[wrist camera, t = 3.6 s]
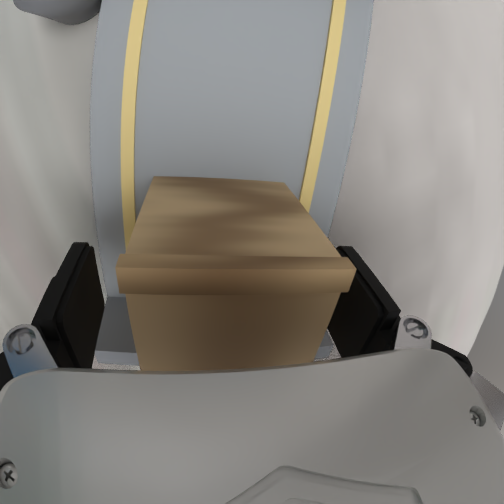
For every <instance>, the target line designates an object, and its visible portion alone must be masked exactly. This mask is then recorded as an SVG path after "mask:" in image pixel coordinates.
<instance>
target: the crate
mask: <svg viewBox="0 0 504 504" xmlns="http://www.w3.org/2000/svg"><path fill="white" fill-rule="evenodd" d="M115 269H116V276H117V282H118V288H119V294H125V296H126V302H127V308H128V313H129V319H130V324H131V329H132V334H133V339H134V343H135V348H136V352H137V357H138V361H139V365H140V369H141V371H199V370H225V369H243V368H257V367H269V366H280V365H290V364H299V363H308V362H313V360H314V358H315V356H316V353H317V351H318V349H319V346H320V344H321V342H322V339H323V337H324V334H325V332H326V330H327V327H328V325H329V322H330V320H331V317H332V314H333V312H334V309H335V307H336V304H337V301H338V299H339V296H340V293H341V292H348V291H349V289H350V286H351V283H352V281H353V278H354V275H355V273H356V270H357V269H356V268H355V266H354V265H353V264H352V262H351V261H350V260H349V258H348V257H341V255H340V254H339V253H338V251H337V250H336V249H335V247H334V246H333V245H332V243H331V242H330V241H329V239H328V238H327V237H326V235H325V234H324V233H323V231H322V230H321V229H320V227H319V226H318V225H317V223H316V222H315V221H314V220H313V218H312V217H311V216H310V214H309V213H308V212H307V211H306V209H305V208H304V207H303V205H302V204H301V203H300V202H299V200H298V199H297V198H296V197H295V195H294V194H293V193H292V192H291V190H290V189H289V188H288V187H287V185H286V184H285V183H284V182H272V181H258V180H243V179H226V178H204V177H170V176H154V177H153V179H152V182H151V184H150V187H149V189H148V192H147V194H146V197H145V199H144V202H143V205H142V207H141V210H140V213H139V215H138V218H137V221H136V223H135V226H134V229H133V232H132V235H131V238H130V241H129V244H128V246H127V249H126V253H125V254H120V255H119V258H118V261H117V264H116V267H115Z"/></svg>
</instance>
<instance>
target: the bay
mask: <svg viewBox="0 0 504 504" xmlns="http://www.w3.org/2000/svg"><path fill="white" fill-rule="evenodd" d="M13 1H14V4H15V5H16V7H17V8H18V9H20V10H22V11H25V12H29V13H32V14H36V15H39V16H43V17H46V18H49V19H52V20H55V21H58V22H61V23H64V24H68V25H74V24H79V23H82V22H85V21H87V20H89V19H91V18H92V17H94V16H95V15H96V14H97V13H98V12H99V11H100V14H99V20H98V26H97V33H96V41H95V49H94V58H93V69H92V83H91V105H90V153H91V175H92V190H93V202H94V212H95V221H96V230H97V237H98V244H99V251H100V258H101V264H102V270H103V275H104V281H105V286H106V291H107V296H108V297H107V301H106V304H105V308H104V313H103V317H102V321H101V326H100V330H99V334H98V339H97V344H96V348H95V356H96V358H97V361H98V363H105V364H120V365H139V361H138V357H137V352H136V348H135V343H134V339H133V334H132V329H131V324H130V319H129V313H128V308H127V302H126V296H125V294H119V288H118V282H117V276H116V269H115V267H116V264H117V261H118V258H119V255H120V254H125V253H126V249H127V246H128V244H129V241H130V238H131V235H132V232H133V229H134V226H135V223H136V221H137V218H138V215H139V213H140V210H141V207H142V205H143V202H144V199H145V197H146V194H147V192H148V189H149V187H150V184H151V182H152V179H153V177H154V176H170V177H204V178H226V179H243V180H258V181H272V182H284V183H285V184H286V185H287V187H288V188H289V189H290V190H291V192H292V193H293V194H294V195H295V197H296V198H297V199H298V200H299V202H300V203H301V204H302V205H303V207H304V208H305V209H306V211H307V212H308V213H309V214H310V216H311V217H312V218H313V220H314V221H315V222H316V223H317V225H318V226H319V227H320V229H321V230H322V231H323V233H324V234H325V235H326V237H327V238H328V234H329V231H330V227H331V223H332V219H333V216H334V212H335V208H336V204H337V200H338V196H339V192H340V188H341V183H342V179H343V175H344V171H345V166H346V162H347V158H348V153H349V148H350V144H351V139H352V134H353V129H354V125H355V119H356V114H357V109H358V104H359V98H360V93H361V87H362V81H363V76H364V69H365V63H366V57H367V50H368V43H369V36H370V28H371V20H372V12H373V2H374V0H13ZM332 348H333V343H332V341H331V339H330V337H329V335H328V333H327V331H326V332H325V334H324V337H323V339H322V342H321V344H320V346H319V349H318V351H317V353H316V356H315V358H314V359H319V358H327V357H328V356H329V354H330V352H331V350H332ZM139 366H140V365H139Z"/></svg>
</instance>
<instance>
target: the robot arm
mask: <svg viewBox="0 0 504 504" xmlns="http://www.w3.org/2000/svg"><path fill="white" fill-rule="evenodd" d="M336 250H337V251H338V253H339V254H340V255H341V257H348V258H349V260H350V261H351V262H352V264H353V265H354V266H355V268H356V269H357V270H356V273H355V275H354V278H353V281H352V283H351V286H350V289H349V291H348V292H341V293H340V296H339V299H338V301H337V304H336V307H335V309H334V312H333V314H332V317H331V320H330V322H329V325H328V327H327V328H328V330H329V332H330V335H331V337H332V339H333V341H334V343H335V345H336V347H337V349H338V351H339V353H340V355H341V358H338V359H331V360H324V361H316V362H308V363H299V364H290V365H280V366H269V367H257V368H243V369H225V370H199V371H140V370H108V369H92V364H93V358H94V353H95V348H96V344H97V339H98V334H99V330H100V326H101V321H102V317H103V313H104V308H105V304H104V298H103V294H102V289H101V284H100V280H99V275H98V269H97V264H96V259H95V253H94V248H93V247H92V246H89V244H88V243H87V242H74V243H73V244H72V246H71V248H70V250H69V251H68V253H67V255H66V257H65V259H64V261H63V263H62V265H61V267H60V268H59V270H58V272H57V274H56V276H55V277H53V278H52V280H51V282H50V284H49V286H48V288H47V290H46V292H45V294H44V296H43V298H42V300H41V303H40V305H39V307H38V309H37V312H36V314H35V316H34V318H33V321H32V323H31V325H29V324H21V325H18V326H15V327H14V328H12V329H11V330H10V331H9V332H8V333H7V334H6V336H5V337H4V339H3V350H4V352H2V353H1V354H0V504H504V439H503V436H502V434H501V432H500V430H501V427H502V424H503V421H504V393H503V392H502V391H500V390H499V389H498V388H497V387H495V386H494V385H493V384H491V383H490V382H489V381H488V380H487V379H485V378H484V377H483V376H482V375H480V374H479V373H478V372H477V371H475V372H474V373H472V371H473V370H472V365H471V363H470V361H469V360H468V358H467V357H466V356H465V355H463V354H461V353H459V352H457V351H455V350H453V349H451V348H449V347H447V346H445V345H443V344H441V343H439V342H436V341H434V340H432V333H431V329H430V327H429V326H428V325H427V323H426V322H424V321H423V320H422V319H420V318H418V317H416V316H412V315H407V316H403V317H402V318H400V317H399V314H400V312H401V310H400V309H399V307H398V306H397V304H396V303H395V302H394V300H393V299H392V298H391V296H390V295H389V294H388V292H387V291H386V289H385V288H384V287H383V285H382V284H381V283H380V282H379V280H378V279H377V278H376V276H375V275H374V274H373V272H372V271H371V270H370V268H369V267H368V266H367V265H366V263H365V262H364V261H363V260H362V258H361V257H360V256H359V254H358V253H357V252H356V251H355V249H354V248H353V247H351V246H338V247H337V248H336Z"/></svg>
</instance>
